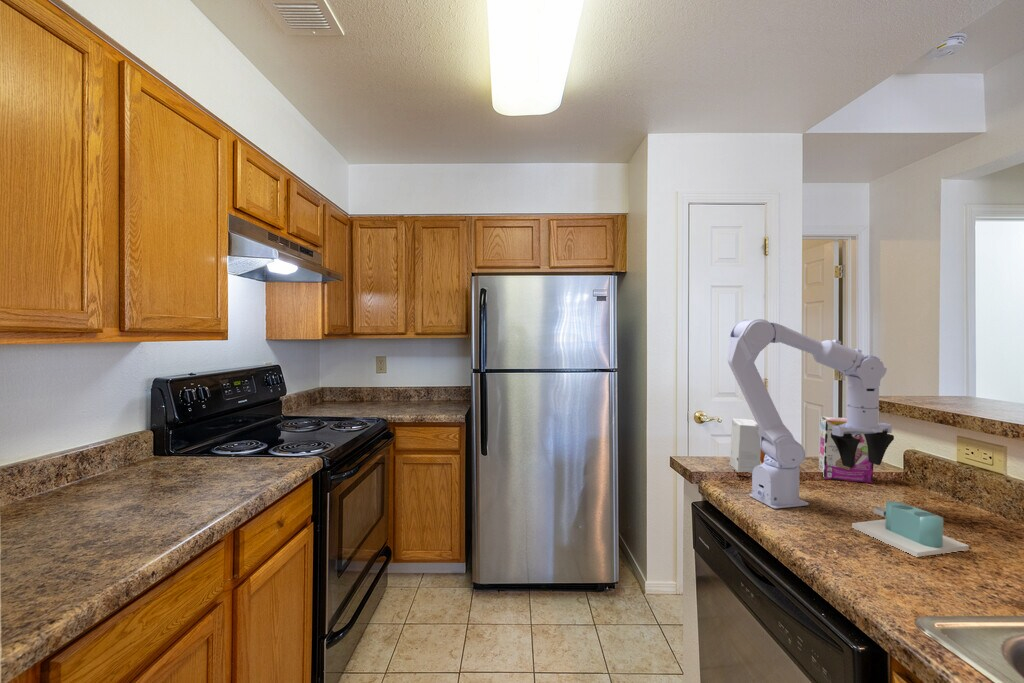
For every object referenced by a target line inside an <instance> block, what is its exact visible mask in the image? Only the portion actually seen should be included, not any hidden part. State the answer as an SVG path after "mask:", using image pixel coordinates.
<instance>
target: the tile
mask: <svg viewBox="0 0 1024 683" xmlns="http://www.w3.org/2000/svg"><path fill="white" fill-rule="evenodd" d="M885 523H886V518H885V519H884V518H883V519H877V520H876V519H874V520H868V521H859V522H851V527H852V529H853V528H854V530H855V531H858V530H859V531H858V532H860V531H861V532H860V533H862V532H863V533H862V534H864V533H865V534H864V535H866V534H867V535H866V536H868V535H869V536H868V537H871V538H873V537H874V538H873V539H875V538H876V539H875V540H877V539H878V541H879V540H880V542H881V541H882V543H883V542H884V543H883V544H886V545H888V544H889V545H888V546H890V545H891V546H890V547H892V546H894V547H896V548H898V549H900V550H899V551H901V550H902V551H901V552H903V551H904V552H903V553H905V552H907V553H909V554H911V555H913V556H916V557H919V556H925V555H932V554H941V553H947V552H954V551H962V550H970V549H969V548H970V546H969V545H968V544H967V543H963V542H961V541H958V540H956V539H953V538H951V537H949V536H946V535H944V534H943V547H941V548H934V547H928V546H925V545H922V544H919V543H917V542H915V541H912V540H910V539H908V538H905V537H903V536H901V535H898V534H896V533H894V532H891V531H889V530H887V529H886V528H885ZM894 547H893V548H894ZM896 548H895V549H896ZM898 549H897V550H898ZM907 553H906V554H907ZM909 554H908V555H909ZM911 555H910V556H911ZM913 556H912V557H913ZM916 557H915V558H916Z"/></svg>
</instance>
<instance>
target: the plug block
mask: <svg viewBox="0 0 1024 683" xmlns="http://www.w3.org/2000/svg"><path fill="white" fill-rule="evenodd" d="M873 513H874V514H876V515H879V516H881V517H884V518H885V519H886V523H885V528H886V529H887V530H889V531H891V532H894V533H896V534H898V535H901V536H903V537H905V538H908V539H910V540H912V541H915V542H917V543H919V544H922V545H925V546H928V547H934V548H941V547H943V535H944V517H942V516H940V515H937V514H935V513H932V512H929V511H927V510H924V509H921V508H918V507H915V506H912V505H910V504H907V503H905V502H904V503H903V502H900V501H894V500H893V501H890V500H888V501H885V507H884V506H876V507H873Z"/></svg>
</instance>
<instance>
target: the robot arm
mask: <svg viewBox="0 0 1024 683" xmlns="http://www.w3.org/2000/svg"><path fill="white" fill-rule="evenodd" d="M728 338H729V339H728V340H729V346H728V351H727V352H728V353H727V364H728V365H729V368H730V369H731V371H732V374H733V375H734V378H735V380H736V382H737V385H738V386H739V389H740V390H741V392H742V394H743V395H742V396H744V399H745V401H746V403H747V405H748V408H749V410H750V412H751V414H752V416H753V417H754V421H755V422H757V424H758V426H759V429H758V434H759V436H760V447H761V449H762V451H763V452H764V453H765V457H764V462H763V463H762V462H761V463H760V465H758V466H756V467H755V468H754V469H753V472H752V477H751V480H752V481H751V493H749V497H751V498H753V499H754V500H757V501H758V502H760V503H762V504H764V505H766V506H768V507H770V508H772V509H785V508H796V507H804V506H805V507H806V506H809V504H810V503H809V502H807V501H805V500H803V499H800V468H801V467H800V466H801V464H803V462H804V461H805V459H806V450H805V448H804V446H803V445H802V444H801V443H799V442H798V441H797V440H796V439H795V437H794V435H793V434H792V433H791V431H790V430H789V429H788V427H787V426H786V425H785V424H784V422H783V420H782V418H781V415H780V414H779V412H778V409H777V408H776V406H775V403H774V402H773V400H772V398H771V395H770V394H769V391H768V389H767V387H766V385H765V382H764V381H763V378H762V376H761V375H760V372H759V370H758V368H757V366H756V364H755V362H756V359H757V358H758V356H759V354H760V353H761V352H762V351H763V350H764V349H765V348H766V347H767V346H769V345H770V344H771V343H772V344H776V343H777V344H779V343H781V344H783V345H787V346H789V347H792V348H794V349H797V350H801V351H802V352H806V353H808V354H811V355H812V357H813V359H814V361H815V362H816V363H819V364H821V365H823V366H826V367H829V368H831V369H833V370H835V371H838V372H840V373H842V374H844V376H846V377H847V378H846V380H847V381H846V382H847V384H846V385H847V386H846V387H847V390H846V418H847V423H845V424H842V425H838V426H832V433H831V438H832V439H833V441H834V442H835V444H836V446H837V448H838V451H839V453H840V457H841V460H842V464H843V465H845V466H848V467H853V466H854V463H855V453H856V449H857V446H858V444H859V442H860V441H861V440H860V439H856V438H853V436H852V435H855V434H864V436H865V438H866V442H867V446H868V459H869V462H870V463H873V465H876V466H881V465H882V462H883V459H884V456H885V454H886V451H887V449H888V447H889V446H890V444H891V443H892V442H893V441H894V440H895V436H894V435H893V434H892V432H893V430H892V429H893V425H892V424H890V423H885V422H879V415H880V414H879V413H880V412H879V411H880V386H881V380H882V379H883V377H885V375H886V373H887V367H885V366H884V363H883V361H881V359H880V358H879V357H877V356H875V355H869V354H863V351H862V350H861V349H859V348H854V349H853V348H850V347H848V346H845V345H843V344H842V341H841V340H838V339H832V340H830V339H826V340H823V341H818V340H816V339H813V338H812V337H809V336H807V335H805V334H802V333H800V332H798V331H796V330H793V329H791V328H789V327H787V326H784V325H782V324H779V323H777V322H772V321H768V320H766V319H763V318H762V319H761V318H758V319H751V320H750V319H742V320H739V321H737V322H736V323H735V324H734V326H732V328H731V331H730V332H729V333H728Z"/></svg>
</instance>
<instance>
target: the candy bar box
mask: <svg viewBox="0 0 1024 683" xmlns="http://www.w3.org/2000/svg"><path fill="white" fill-rule="evenodd" d="M819 421H820V425H819V427H820V428H819V451H818V453H819V456H818V470H819V469H820V470H821V471H822V472H823V477H824V478H823V477H822V478H823V479H824V480H835V481H844V482H845V481H846V482H854V483H855V482H857V483H867V484H873V482H874V464H873V463H870V462H869V459H868V446H867V442H866V438H865V436H864V434H855V435H852V436H853V438H856V439H860V440H861V441H860V442H859V444H858V446H857V449H856V453H855V463H854V466H853V467H848V466H845V465H843V464H842V460H841V457H840V453H839V451H838V448H837V446H836V444H835V442H834V441H833V439H832V438H831V433H832V426H838V425H842V424H845V423H847V417H846V418H845V417H838V416H837V417H836V416H835V417H834V416H820V420H819Z"/></svg>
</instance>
